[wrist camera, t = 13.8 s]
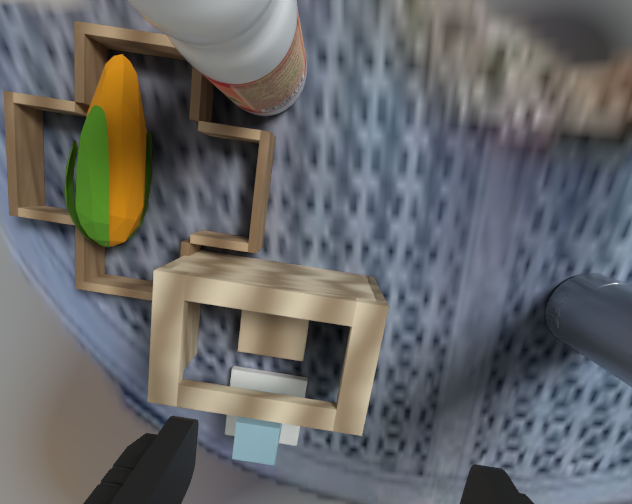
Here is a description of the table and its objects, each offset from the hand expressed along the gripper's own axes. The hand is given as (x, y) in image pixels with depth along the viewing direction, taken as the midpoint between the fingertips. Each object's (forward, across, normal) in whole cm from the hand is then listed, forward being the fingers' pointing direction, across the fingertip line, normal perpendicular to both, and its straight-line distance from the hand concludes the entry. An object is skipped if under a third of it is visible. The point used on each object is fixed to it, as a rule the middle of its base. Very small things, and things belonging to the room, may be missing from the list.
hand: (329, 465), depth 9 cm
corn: (+30, +25, -8) cm, 40 cm away
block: (+29, +5, +22) cm, 37 cm away
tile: (+30, +5, +22) cm, 38 cm away
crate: (+30, +5, +9) cm, 32 cm away
